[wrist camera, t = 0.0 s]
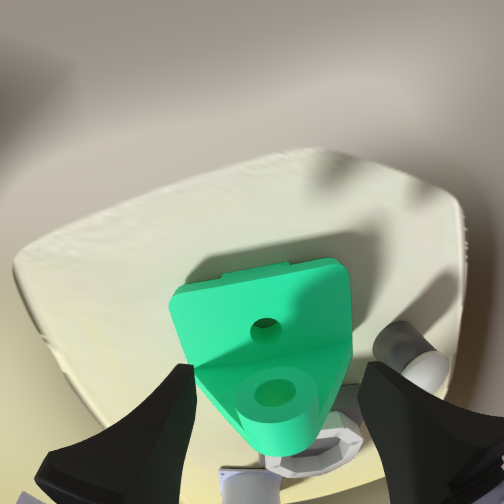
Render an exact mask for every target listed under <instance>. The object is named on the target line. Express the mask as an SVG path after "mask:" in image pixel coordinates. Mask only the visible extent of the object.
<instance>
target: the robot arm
mask: <svg viewBox="0 0 504 504" xmlns="http://www.w3.org/2000/svg"><path fill="white" fill-rule="evenodd" d="M357 399H358V403H359V407H360V410H361V414H362V417H363V419H364V421H365V424H366V426H367V428H368V430H369V433H370V435H371V437H372V439H373V442H374V444H375V446H376V448H377V451H378V453H379V456H380V458H381V461H382V465H383V469H384V472H385V476H386V480H387V485H388V490H389V496H390V503H391V504H504V470H503V469H502V468H501V466H502V465H503V464H504V461H503V460H502V456H503V455H504V417H497V416H490V415H485V414H480V413H476V412H472V411H469V410H466V409H463V408H460V407H458V406H455V405H453V404H450V403H448V402H446V401H444V400H442V399H440V398H438V397H436V396H434V395H432V394H430V393H429V392H427V391H425V390H424V389H422V388H420V387H419V386H417V385H416V384H414V383H413V382H411V381H410V380H408V379H407V378H405V377H404V376H402V375H401V374H399V373H398V372H397V371H395V370H394V369H392V368H391V367H389V366H388V365H386V364H385V363H383V362H381V361H376V362H368V364H367V368H366V371H365V374H364V377H363V380H362V383H361V386H360V389H359V392H358V395H357ZM196 406H197V394H196V384H195V374H194V365H191V364H180V363H179V364H177V365H176V366H175V368H174V369H173V370H172V371H171V372H170V374H169V375H168V376H167V377H166V378H165V379H164V381H163V382H162V383H161V384H160V385H159V386H158V387H157V388H156V389H155V390H154V391H153V392H152V393H151V394H150V395H149V396H148V397H147V398H146V399H145V400H144V401H143V402H142V403H141V404H140V405H139V406H138V407H136V408H135V409H134V410H133V411H132V412H130V413H129V414H128V415H126V416H125V417H124V418H122V419H121V420H120V421H118V422H117V423H115V424H114V425H112V426H110V427H109V428H107V429H105V430H104V431H102V432H100V433H99V434H97V435H95V436H92V437H90V438H88V439H86V440H84V441H82V442H79V443H76V444H74V445H71V446H68V447H64V448H61V449H58V450H54V451H50V452H49V453H48V454H47V456H46V457H45V459H44V460H43V462H42V464H41V466H40V468H39V470H38V472H37V474H36V476H35V477H34V480H35V482H36V484H37V485H38V486H39V487H40V488H41V490H43V491H44V492H45V493H46V494H47V495H48V496H49V497H50V498H51V499H52V500H53V501H54V502H55V503H57V504H179V495H180V485H181V477H182V470H183V465H184V460H185V456H186V452H187V449H188V445H189V441H190V437H191V433H192V429H193V425H194V421H195V414H196ZM282 478H283V476H281V475H279V474H276V473H274V472H272V471H269V470H267V469H223V468H222V469H219V482H220V491H221V497H222V504H280V495H279V488H280V485H281V482H282ZM16 504H45V503H43V502H42V501H40V500H38V499H36V498H35V497H33V496H31V495H29V494H28V493H26V492H25V491H23V492H22V493H21V495H20V497H19V499H18V501H17V503H16Z"/></svg>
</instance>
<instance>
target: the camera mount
mask: <svg viewBox="0 0 504 504" xmlns="http://www.w3.org/2000/svg"><path fill="white" fill-rule="evenodd" d="M169 310H170V314H171V317H172V320H173V322H174V325H175V328H176V331H177V334H178V337H179V340H180V342H181V345H182V348H183V351H184V353H185V356H186V359H187V361H188V364H191V365H194V374H195V381H196V384H197V385H198V387H199V388H200V389H201V390H202V392H203V393H204V394H205V395H206V396H207V398H208V399H209V400H210V401H211V402H212V404H213V405H214V406H215V407H216V408H217V410H218V411H219V412H220V413H221V414H222V415H223V416H224V418H225V419H226V420H227V421H228V422H229V423H230V424H231V425H232V426H233V428H234V429H235V430H236V431H237V432H238V433H239V434H240V435H241V436H242V437H243V438H244V439H245V440H246V441H247V443H248V444H249V445H250V446H251V447H252V448H253V449H255V450H256V451H257V452H259V453H261V454H264V455H267V456H271V457H286V456H291V455H294V454H297V453H300V452H302V451H304V450H305V449H307V448H308V447H309V446H310V445H311V444H312V443H313V442H314V441H315V440H316V438H317V437H318V435H319V433H320V431H321V429H322V427H323V424H324V422H325V420H326V418H327V416H328V414H329V412H330V410H331V407H332V405H333V403H334V401H335V398H336V396H337V394H338V391H339V389H340V387H341V384H342V382H343V379H344V377H345V375H346V372H347V369H348V367H349V364H350V362H351V359H352V356H353V343H352V309H351V291H350V276H349V272H348V270H347V269H346V268H345V267H344V266H343V265H342V264H341V263H340V262H338V261H337V260H336V259H334V258H323V259H318V260H313V261H308V262H303V263H298V264H293V265H290V264H289V262H288V261H287V262H282V263H277V264H272V265H267V266H261V267H256V268H251V269H246V270H240V271H235V272H230V273H224V274H222V277H221V278H220V279H214V280H209V281H203V282H198V283H192V284H186V285H182V286H180V287H179V288H178V289H177V290H176V291H175V293H174V295H173V296H172V298H171V300H170V302H169ZM262 318H272V319H275V320H277V321H276V323H275V324H274V325H272V326H270V327H267V328H260V327H257V326H255V325H254V323H255V322H256V321H257V320H259V319H262Z"/></svg>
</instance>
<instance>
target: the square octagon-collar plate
mask: <svg viewBox="0 0 504 504" xmlns="http://www.w3.org/2000/svg"><path fill="white" fill-rule="evenodd" d="M359 389H360V385H359V384H353V385H344V386H341V387H340V389H339V391H338V394H337V396H336V398H335V401H334V403H333V405H332V407H331V410H330V412H329V414H328V416H327V418H326V420H325V422H324V424H323V427H322V429H321V431H320V433H319V435H318V437H317V438H316V440H315V441H314V442H313V443H312V444H311V445H310V446H309V447H308V448H307V449H305V450H304V451H302V452H300V453H297V454H294V455H291V456H286V457H271V456H267V455H264V454H261V453H259V465H260V466H266V468H267V470H269V471H272V472H274V473H276V474H279V475H281V476H284V477H286V478H302V477H311V476H319V475H323V474H327V473H329V472H331V471H333V470H335V469H337V468H338V467H340V466H342V465H344V464H346V463H348V462H350V461H351V460H352V459H354V457H355V456H356V454H357V452H358V450H359V448H360V447H361V445H362V443H363V441H364V440H363V436H362V434H361V431H360V429H359V427H360V425H361V423H362V420H363V417H362V414H361V410H360V407H359V403H358V399H357V395H358V392H359Z"/></svg>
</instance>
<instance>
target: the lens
mask: <svg viewBox="0 0 504 504" xmlns="http://www.w3.org/2000/svg"><path fill="white" fill-rule="evenodd" d="M373 355H374V357H375V358H376V360H377V361H381V362H383V363H385V364H386V365H388V366H389V367H391V368H392V369H394V370H395V371H397V372H398V373H399V374H401V375H402V376H404V377H405V378H407V379H408V380H410V381H411V382H413V383H414V384H416V385H417V386H419V387H420V388H422V389H424V390H425V391H427V392H429V393H430V394H433V393H434V392H435V391H436V390H437V389H438V388H439V387H440V385H441V384H442V383H443V381H444V380H445V378H446V376H447V373H448V370H449V362H448V360H447V359H446V358H445V357H444V355H443V354H442V353H440V352H439V351H437V350H436V349H435V348H434V347H433V346H432V345H431V344H430V343H429V342H428V341H427V340H426V339H425V338H424V337H423V336H422V335H421V334H420V333H419V332H418V331H417V330H416V329H415V328H414V327H413V326H412V325H411V324H409V323H408V322H405V321H397V322H394V323H392V324H390V325H388V326H387V327H385V328H384V329H383V330H382V331H381V332H380V333H379V335H378V336H377V338H376V339H375V341H374V344H373Z"/></svg>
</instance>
